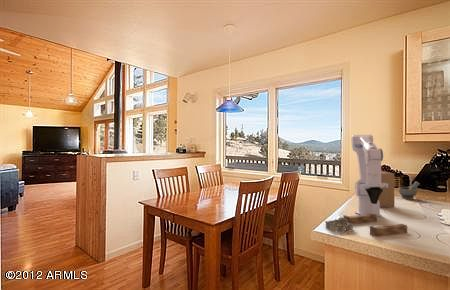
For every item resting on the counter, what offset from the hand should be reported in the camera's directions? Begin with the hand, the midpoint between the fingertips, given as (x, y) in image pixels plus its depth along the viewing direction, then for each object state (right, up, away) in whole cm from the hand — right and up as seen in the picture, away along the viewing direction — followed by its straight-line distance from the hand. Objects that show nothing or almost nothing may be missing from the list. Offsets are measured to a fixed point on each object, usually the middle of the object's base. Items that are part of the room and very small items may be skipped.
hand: (373, 203), depth 106 cm
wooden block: (+24, -9, +31) cm, 40 cm away
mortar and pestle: (+54, -9, +46) cm, 71 cm away
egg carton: (-19, -10, -6) cm, 22 cm away
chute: (-3, -10, -5) cm, 11 cm away
